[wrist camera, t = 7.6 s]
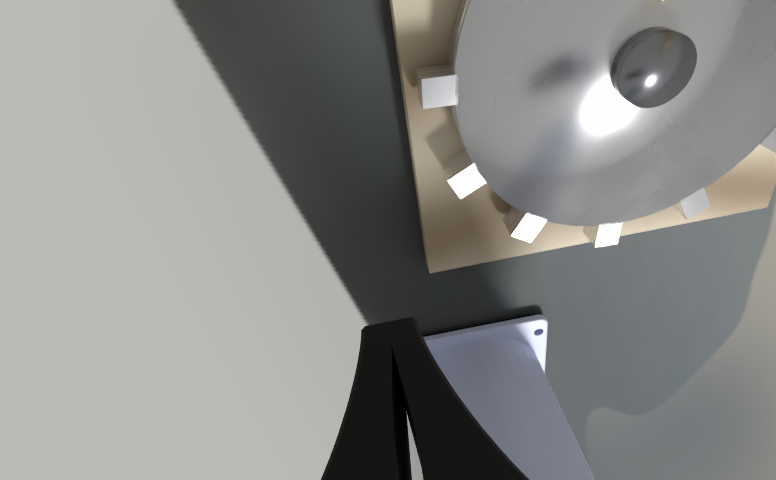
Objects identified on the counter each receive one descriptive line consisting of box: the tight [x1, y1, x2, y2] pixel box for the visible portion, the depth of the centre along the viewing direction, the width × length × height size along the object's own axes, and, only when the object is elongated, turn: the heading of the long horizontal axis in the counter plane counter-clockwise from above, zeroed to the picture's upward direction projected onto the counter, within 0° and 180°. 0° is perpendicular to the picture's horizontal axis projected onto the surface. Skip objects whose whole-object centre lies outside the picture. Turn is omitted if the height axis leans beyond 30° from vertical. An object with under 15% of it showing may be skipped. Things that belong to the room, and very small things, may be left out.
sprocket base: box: [389, 0, 776, 273], centre depth 18 cm, size 17×16×1 cm
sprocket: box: [416, 0, 776, 247], centre depth 15 cm, size 15×15×6 cm
